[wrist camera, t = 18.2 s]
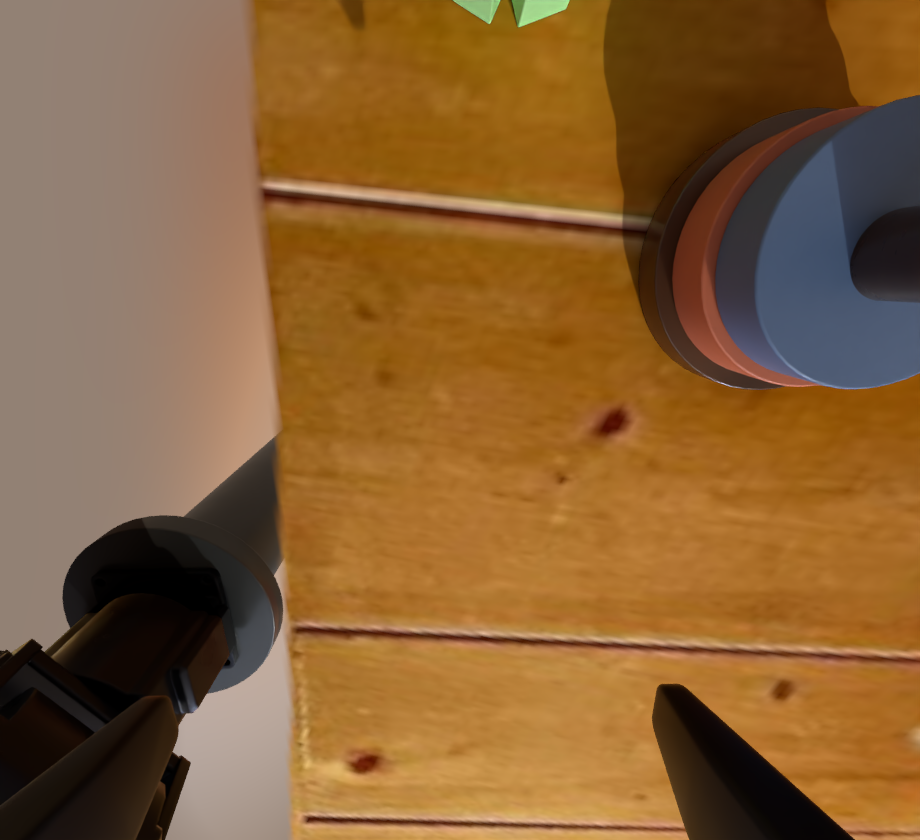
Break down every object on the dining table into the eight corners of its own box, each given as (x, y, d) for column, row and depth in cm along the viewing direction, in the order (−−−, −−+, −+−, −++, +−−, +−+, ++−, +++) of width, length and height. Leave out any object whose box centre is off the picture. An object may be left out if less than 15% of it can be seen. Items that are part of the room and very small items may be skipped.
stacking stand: (625, 383, 18) (791, 481, 9) (654, 123, 16) (935, -96, 6) (846, 380, 19) (1218, 473, 10) (916, 121, 16) (1551, -96, 7)
